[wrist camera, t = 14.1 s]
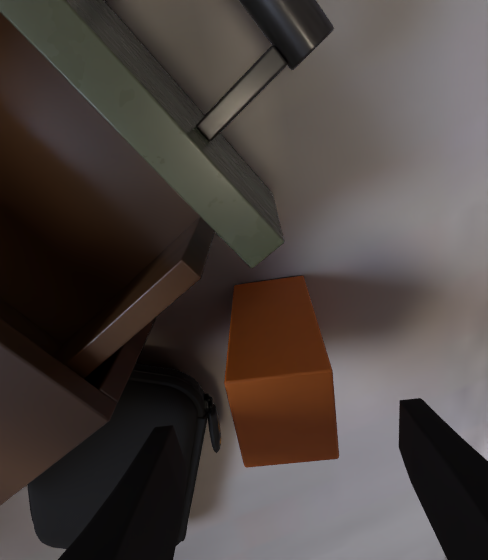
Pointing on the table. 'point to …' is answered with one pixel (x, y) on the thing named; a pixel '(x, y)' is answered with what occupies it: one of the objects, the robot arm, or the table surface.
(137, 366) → the carrying case
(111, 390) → the cabinet
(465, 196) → the table surface
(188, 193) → the drawer
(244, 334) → the snack box
